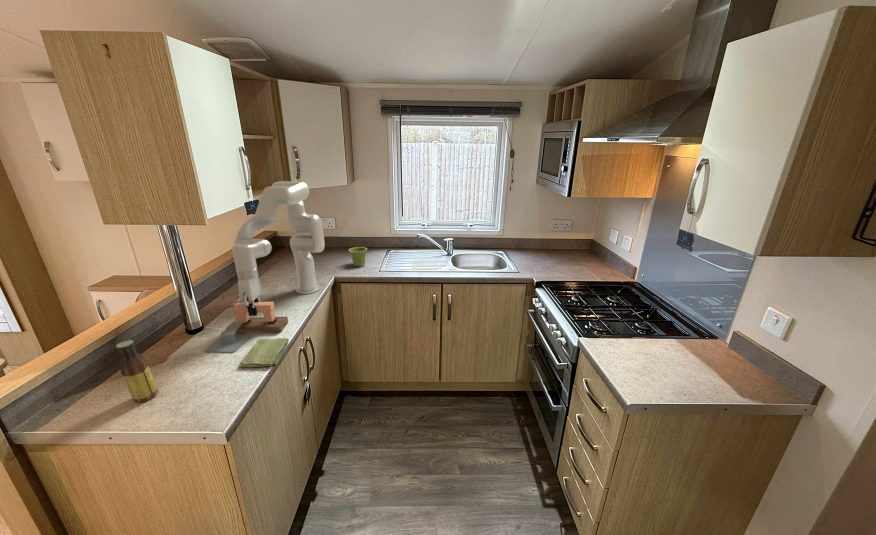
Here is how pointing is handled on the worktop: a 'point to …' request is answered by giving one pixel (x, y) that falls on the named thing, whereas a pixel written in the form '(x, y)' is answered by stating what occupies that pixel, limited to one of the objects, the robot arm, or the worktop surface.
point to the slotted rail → (261, 325)
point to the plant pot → (358, 255)
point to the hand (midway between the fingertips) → (255, 312)
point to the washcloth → (265, 352)
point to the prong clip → (260, 307)
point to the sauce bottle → (136, 372)
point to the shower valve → (229, 341)
